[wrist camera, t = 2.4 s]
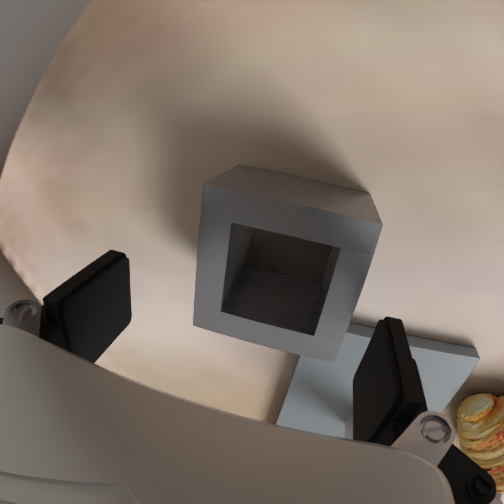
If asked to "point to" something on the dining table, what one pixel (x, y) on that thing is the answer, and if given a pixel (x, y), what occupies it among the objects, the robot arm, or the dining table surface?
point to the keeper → (342, 373)
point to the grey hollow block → (276, 284)
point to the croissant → (483, 433)
